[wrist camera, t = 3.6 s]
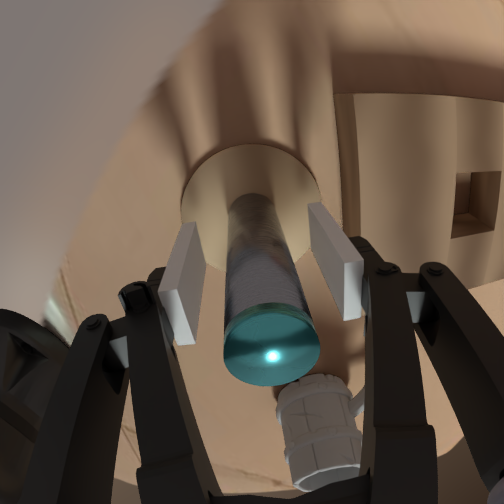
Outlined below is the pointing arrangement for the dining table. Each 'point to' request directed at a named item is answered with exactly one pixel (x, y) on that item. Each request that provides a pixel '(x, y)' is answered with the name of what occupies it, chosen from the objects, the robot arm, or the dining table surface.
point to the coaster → (249, 181)
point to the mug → (320, 430)
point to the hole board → (424, 180)
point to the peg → (264, 300)
